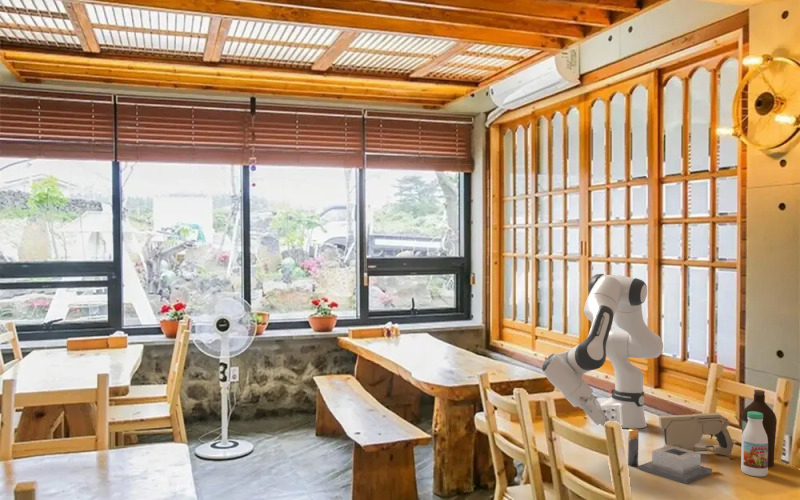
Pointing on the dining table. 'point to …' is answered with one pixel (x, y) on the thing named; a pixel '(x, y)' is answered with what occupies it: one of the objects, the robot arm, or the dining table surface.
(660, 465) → the block
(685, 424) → the gun
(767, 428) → the olive oil
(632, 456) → the battery
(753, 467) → the milk bottle
